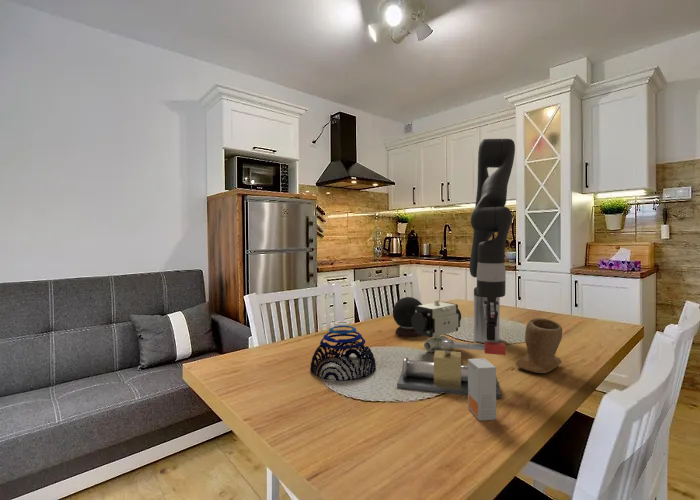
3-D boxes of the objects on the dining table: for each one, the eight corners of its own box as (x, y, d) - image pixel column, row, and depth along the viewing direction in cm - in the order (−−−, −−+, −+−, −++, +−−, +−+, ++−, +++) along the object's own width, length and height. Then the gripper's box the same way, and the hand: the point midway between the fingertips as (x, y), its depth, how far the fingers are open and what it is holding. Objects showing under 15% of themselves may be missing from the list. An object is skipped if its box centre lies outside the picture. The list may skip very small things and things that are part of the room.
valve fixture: (403, 371, 110) (403, 339, 109) (496, 380, 102) (496, 346, 102) (397, 387, 98) (396, 352, 98) (500, 399, 91) (501, 360, 90)
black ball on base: (429, 331, 153) (429, 296, 152) (417, 339, 142) (417, 301, 141) (400, 327, 160) (400, 293, 159) (387, 334, 149) (387, 298, 148)
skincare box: (467, 408, 86) (467, 358, 86) (484, 407, 87) (484, 357, 86) (478, 421, 80) (478, 368, 80) (497, 420, 81) (497, 367, 80)
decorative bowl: (382, 360, 120) (382, 317, 119) (365, 385, 101) (364, 333, 100) (326, 354, 126) (325, 313, 126) (300, 376, 107) (299, 328, 107)
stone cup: (551, 380, 101) (551, 327, 101) (509, 368, 111) (510, 319, 110) (573, 367, 111) (573, 318, 110) (533, 357, 120) (533, 312, 119)
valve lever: (504, 351, 97) (504, 342, 97) (505, 355, 94) (505, 346, 94) (441, 346, 102) (441, 338, 102) (441, 350, 99) (441, 341, 99)
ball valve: (429, 359, 120) (428, 305, 119) (411, 352, 127) (410, 301, 126) (465, 349, 130) (465, 299, 129) (446, 343, 137) (446, 296, 136)
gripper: (508, 282, 94) (508, 348, 96) (502, 275, 107) (502, 333, 108) (477, 281, 97) (477, 345, 98) (475, 275, 109) (475, 332, 110)
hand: (490, 339), depth 103 cm, fingers closed
